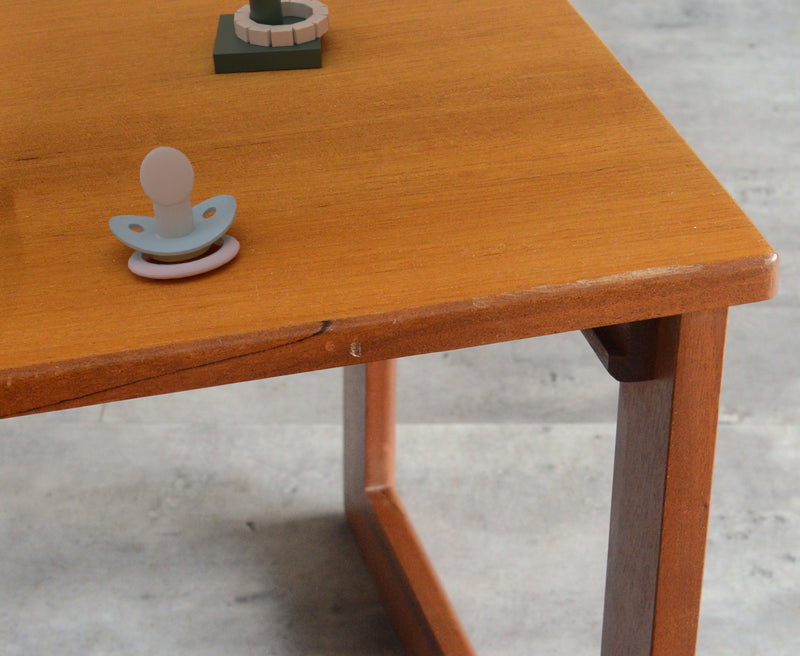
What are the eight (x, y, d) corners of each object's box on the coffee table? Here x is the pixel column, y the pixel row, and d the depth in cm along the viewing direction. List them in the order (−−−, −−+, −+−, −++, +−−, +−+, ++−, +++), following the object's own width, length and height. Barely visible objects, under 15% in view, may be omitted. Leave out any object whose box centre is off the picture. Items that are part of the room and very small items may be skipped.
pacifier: (256, 270, 68) (232, 217, 72) (244, 173, 64) (219, 123, 68) (128, 297, 66) (111, 242, 70) (107, 199, 62) (90, 147, 66)
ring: (234, 49, 89) (232, 34, 88) (237, 14, 94) (235, -1, 93) (331, 43, 89) (329, 27, 88) (327, 8, 94) (326, -7, 94)
